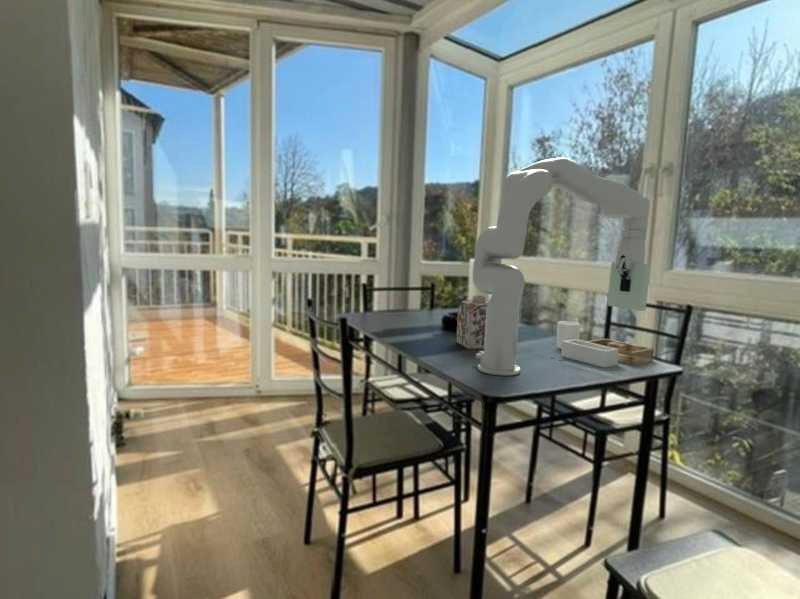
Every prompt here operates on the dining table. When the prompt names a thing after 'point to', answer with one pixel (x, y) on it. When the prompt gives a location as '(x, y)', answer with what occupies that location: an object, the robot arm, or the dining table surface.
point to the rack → (630, 352)
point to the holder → (590, 352)
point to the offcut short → (617, 346)
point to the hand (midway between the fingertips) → (627, 290)
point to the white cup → (567, 331)
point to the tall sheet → (637, 288)
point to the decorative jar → (472, 322)
